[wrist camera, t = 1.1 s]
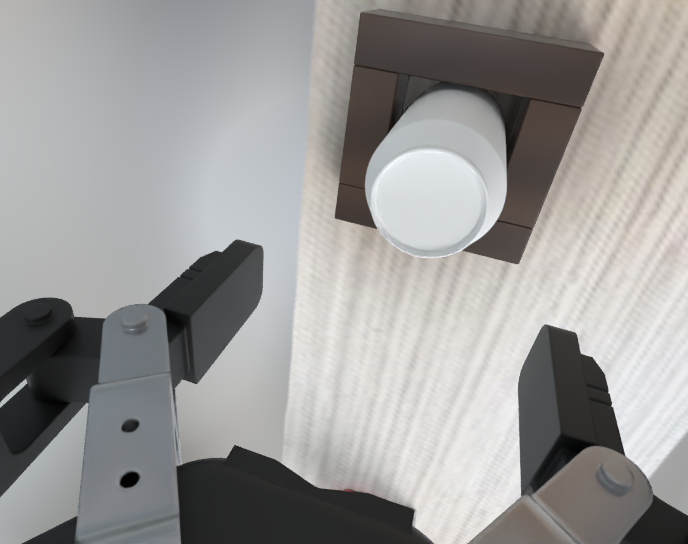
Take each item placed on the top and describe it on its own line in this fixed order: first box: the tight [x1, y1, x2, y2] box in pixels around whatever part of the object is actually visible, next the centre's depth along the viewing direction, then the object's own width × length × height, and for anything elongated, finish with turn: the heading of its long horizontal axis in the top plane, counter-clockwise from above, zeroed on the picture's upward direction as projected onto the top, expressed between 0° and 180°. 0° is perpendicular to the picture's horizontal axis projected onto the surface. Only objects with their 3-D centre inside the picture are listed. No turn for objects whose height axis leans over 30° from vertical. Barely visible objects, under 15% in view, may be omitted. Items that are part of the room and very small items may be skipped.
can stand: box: [335, 9, 604, 264], centre depth 27 cm, size 12×12×4 cm
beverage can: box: [365, 83, 507, 258], centre depth 24 cm, size 6×6×12 cm
